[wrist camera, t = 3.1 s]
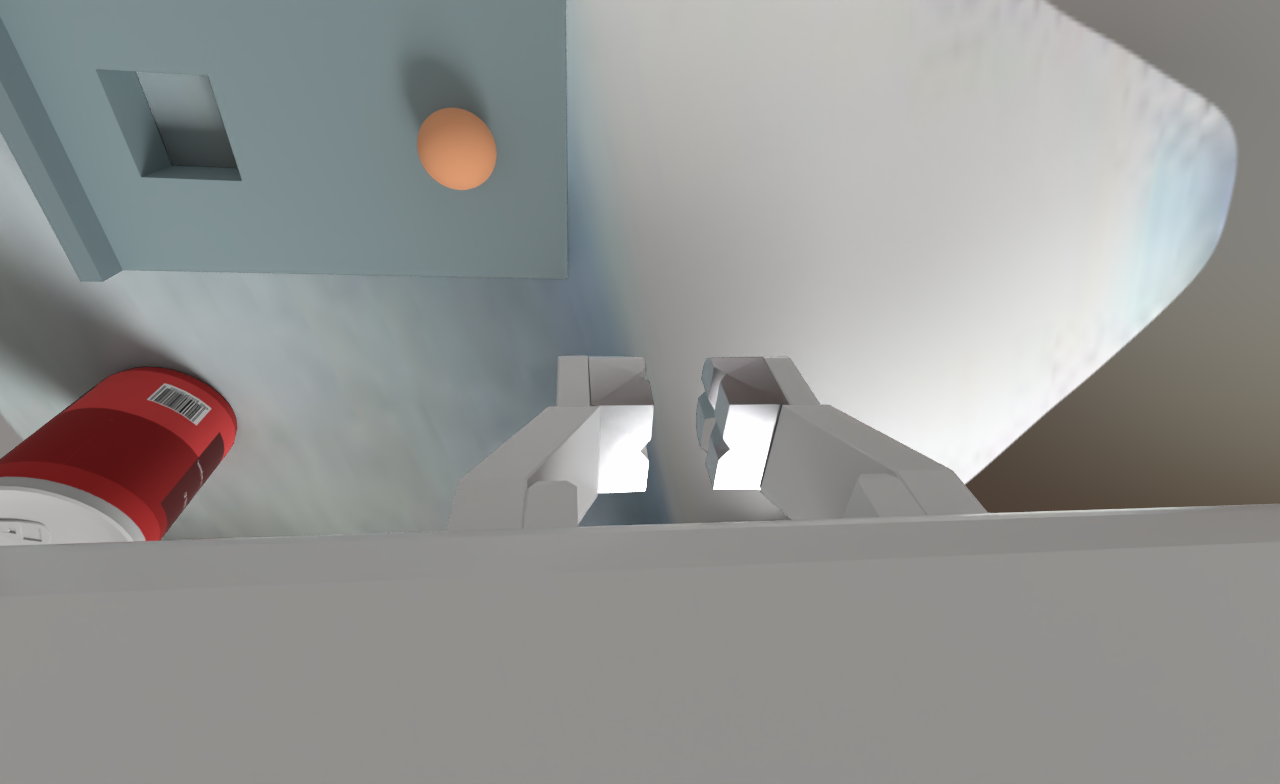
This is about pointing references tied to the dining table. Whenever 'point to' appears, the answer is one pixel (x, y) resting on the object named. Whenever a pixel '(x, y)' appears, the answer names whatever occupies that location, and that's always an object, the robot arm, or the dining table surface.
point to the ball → (456, 148)
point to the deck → (292, 134)
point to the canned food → (115, 461)
